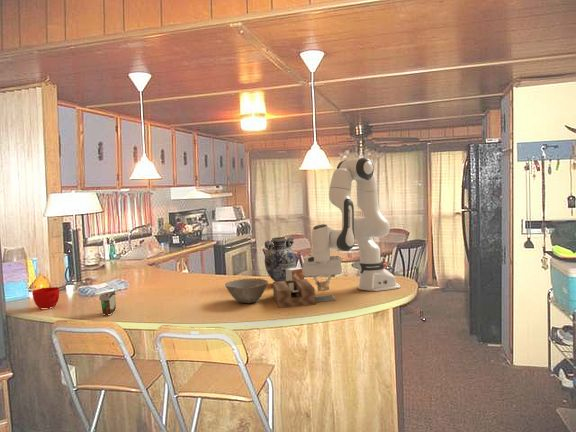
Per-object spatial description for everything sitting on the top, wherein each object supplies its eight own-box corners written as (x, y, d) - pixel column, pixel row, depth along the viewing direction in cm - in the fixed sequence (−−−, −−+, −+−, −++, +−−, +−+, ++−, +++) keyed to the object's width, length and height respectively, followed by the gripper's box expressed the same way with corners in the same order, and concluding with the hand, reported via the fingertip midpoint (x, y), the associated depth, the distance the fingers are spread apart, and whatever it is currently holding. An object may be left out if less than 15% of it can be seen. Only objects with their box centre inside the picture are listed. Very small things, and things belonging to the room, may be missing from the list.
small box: (293, 294, 267) (291, 270, 266) (286, 292, 272) (285, 268, 272) (305, 291, 272) (303, 268, 271) (298, 289, 277) (297, 266, 276)
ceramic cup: (47, 312, 256) (45, 293, 255) (28, 310, 265) (27, 291, 264) (70, 306, 267) (68, 288, 266) (51, 304, 276) (49, 286, 275)
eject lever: (296, 293, 261) (295, 283, 263) (300, 291, 244) (299, 280, 245) (286, 294, 261) (285, 283, 262) (290, 292, 243) (289, 281, 244)
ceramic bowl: (236, 309, 240) (234, 289, 240) (219, 301, 261) (218, 282, 260) (277, 302, 251) (275, 282, 250) (258, 294, 271) (257, 276, 270)
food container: (104, 311, 253) (102, 291, 252) (116, 310, 253) (115, 290, 252) (97, 317, 240) (95, 297, 240) (110, 316, 241) (108, 296, 240)
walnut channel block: (307, 293, 266) (306, 279, 265) (315, 304, 242) (314, 288, 241) (273, 296, 263) (272, 281, 263) (278, 307, 240) (277, 291, 239)
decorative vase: (277, 289, 280) (274, 240, 279) (258, 286, 294) (255, 239, 293) (305, 283, 293) (302, 236, 292) (286, 280, 308) (283, 235, 306)
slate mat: (331, 296, 257) (331, 295, 257) (335, 300, 247) (335, 299, 247) (312, 297, 256) (312, 296, 256) (315, 302, 246) (315, 301, 246)
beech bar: (325, 290, 255) (324, 282, 256) (329, 289, 245) (328, 281, 246) (317, 291, 254) (317, 283, 255) (321, 289, 245) (320, 281, 245)
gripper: (339, 254, 255) (341, 281, 255) (300, 257, 252) (301, 284, 253) (342, 256, 248) (344, 283, 249) (302, 259, 246) (303, 286, 247)
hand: (322, 284), depth 251 cm, fingers closed on beech bar, 4 cm apart
